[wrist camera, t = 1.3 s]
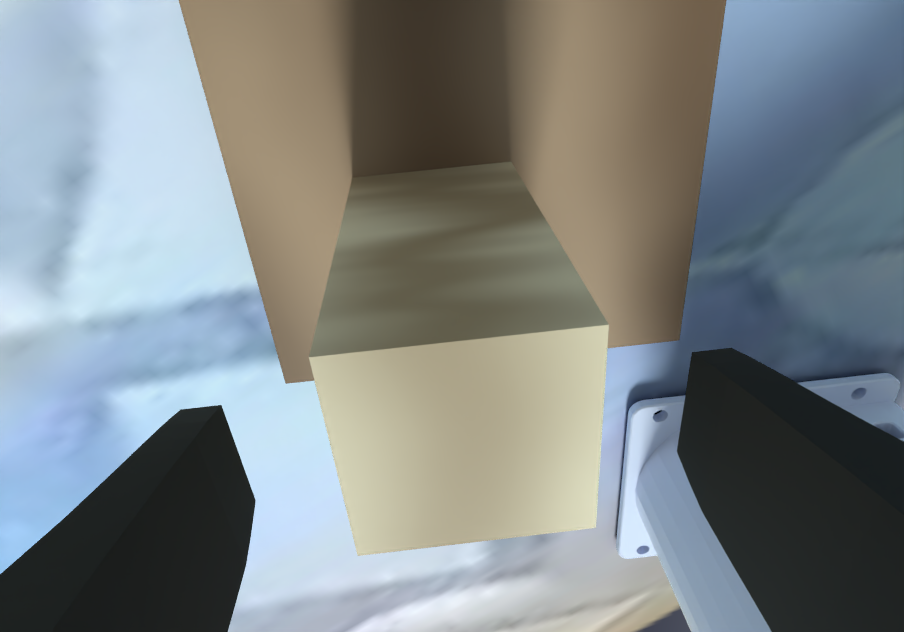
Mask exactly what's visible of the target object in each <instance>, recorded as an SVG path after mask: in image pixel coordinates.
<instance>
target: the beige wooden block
mask: <svg viewBox="0 0 904 632" xmlns="http://www.w3.org/2000/svg"><path fill="white" fill-rule="evenodd" d="M608 330H609V324H608V322H607V321H606V319H605V317H604V316H603V314H602V312H601V311H600V309H599V307H598V306H597V304H596V302H595V301H594V299H593V297H592V296H591V294H590V292H589V291H588V289H587V287H586V286H585V284H584V282H583V281H582V279H581V277H580V276H579V274H578V272H577V271H576V269H575V267H574V266H573V264H572V262H571V261H570V259H569V257H568V256H567V254H566V252H565V251H564V249H563V247H562V246H561V244H560V242H559V241H558V239H557V237H556V236H555V234H554V232H553V231H552V229H551V227H550V226H549V224H548V222H547V221H546V219H545V217H544V216H543V214H542V212H541V211H540V209H539V207H538V206H537V204H536V202H535V201H534V199H533V197H532V196H531V194H530V192H529V191H528V189H527V187H526V186H525V184H524V182H523V181H522V179H521V177H520V176H519V174H518V172H517V171H516V169H515V167H514V166H513V164H512V162H502V163H493V164H483V165H473V166H463V167H453V168H443V169H433V170H424V171H414V172H404V173H394V174H384V175H374V176H365V177H355V178H352V181H351V185H350V189H349V193H348V198H347V202H346V206H345V210H344V214H343V218H342V222H341V226H340V231H339V235H338V239H337V243H336V247H335V251H334V255H333V259H332V264H331V268H330V272H329V276H328V280H327V284H326V288H325V293H324V297H323V301H322V305H321V309H320V313H319V317H318V321H317V326H316V330H315V334H314V338H313V342H312V346H311V350H310V354H309V360H310V364H311V368H312V373H313V377H314V381H315V385H316V389H317V393H318V397H319V401H320V405H321V409H322V413H323V417H324V421H325V425H326V429H327V433H328V437H329V441H330V445H331V449H332V453H333V457H334V461H335V466H336V470H337V474H338V478H339V482H340V486H341V490H342V494H343V498H344V502H345V506H346V510H347V514H348V518H349V522H350V526H351V530H352V534H353V538H354V542H355V546H356V550H357V554H358V556H361V555H369V554H378V553H386V552H395V551H403V550H412V549H420V548H429V547H437V546H446V545H454V544H463V543H471V542H480V541H488V540H497V539H505V538H514V537H522V536H530V535H539V534H547V533H556V532H564V531H573V530H581V529H590V528H596V515H597V500H598V485H599V469H600V454H601V438H602V423H603V407H604V392H605V377H606V361H607V346H608Z"/></svg>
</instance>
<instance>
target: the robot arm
mask: <svg viewBox="0 0 904 632" xmlns="http://www.w3.org/2000/svg"><path fill="white" fill-rule="evenodd" d="M899 389H900V382H899V380H898V379H897V378H895V377H894V376H893V375H891V374H889V373H879V374H871V375H862V376H853V377H844V378H835V379H826V380H817V381H808V382H799V383H796V382H794V381H793V380H791V379H789V378H787V377H785V376H784V375H782V374H780V373H778V372H776V371H775V370H773V369H771V368H769V367H767V366H766V365H764V364H762V363H760V362H758V361H756V360H754V359H753V358H751V357H749V356H747V355H745V354H743V353H741V352H739V351H737V350H734V349H732V348H726V349H717V350H709V351H700V352H692V356H691V363H690V369H689V375H688V382H687V388H686V395H684V396H675V397H666V398H657V399H648V400H642V401H638V402H636V403H635V404H633V405H632V406H631V408H630V409H629V412H628V421H627V432H626V442H625V453H624V464H623V475H622V486H621V496H620V507H619V518H618V529H617V539H616V548H617V551H618V554H619V555H620V556H621V557H623V558H626V559H631V558H639V557H648V556H656V555H657V556H658V558H659V560H660V562H661V565H662V567H663V569H664V571H665V574H666V576H667V578H668V580H669V583H670V585H671V587H672V589H673V592H674V594H675V596H676V598H677V601H678V603H679V605H680V607H681V610H682V612H683V614H684V616H685V618H686V621H687V623H688V625H689V628H690V630H691V632H904V410H903V409H902V408H901V407H900V406H899V405H897V404H896V403H895V400H896V397H897V394H898V392H899ZM854 390H855V391H854ZM660 410H662V412H660V413H659V414H656V415H654V413H656V412H657V411H660ZM254 508H255V498H254V495H253V492H252V490H251V487H250V484H249V481H248V478H247V476H246V473H245V470H244V467H243V465H242V462H241V459H240V456H239V453H238V451H237V448H236V445H235V442H234V439H233V437H232V434H231V431H230V428H229V425H228V423H227V420H226V417H225V414H224V412H223V409H222V406H221V405H218V406H209V407H200V408H191V409H183V410H180V411H179V412H177V413H176V414H175V415H174V416H173V417H172V418H170V419H169V420H168V421H167V422H166V423H165V424H164V425H163V426H162V427H160V428H159V429H158V430H157V431H156V432H155V433H154V434H153V435H152V436H151V437H150V438H149V439H148V440H147V441H146V442H144V443H143V444H142V445H141V446H140V447H139V448H138V449H137V450H136V451H135V452H134V453H133V454H132V455H131V456H130V457H129V458H128V459H127V460H126V461H125V462H124V463H122V464H121V465H120V466H119V467H118V468H117V469H116V470H115V471H114V472H113V473H112V474H111V475H110V476H109V477H108V478H107V479H106V480H105V481H103V482H102V483H101V484H100V485H99V486H98V487H97V488H96V489H95V490H94V491H93V492H92V493H91V494H90V495H89V496H88V497H86V498H85V499H84V500H83V501H82V502H81V503H80V504H79V505H78V506H77V507H76V508H75V509H74V510H73V511H72V512H70V513H69V514H68V515H67V516H66V517H65V518H64V519H63V520H62V521H61V522H60V523H58V524H57V525H56V526H55V527H54V528H53V529H52V530H50V531H49V532H48V533H47V534H46V535H45V536H44V537H42V538H41V539H40V540H39V541H38V542H37V543H36V544H34V545H33V546H32V547H31V548H30V549H29V550H28V551H26V552H25V553H24V554H23V555H22V556H21V557H20V558H18V559H17V560H16V561H15V562H14V563H13V564H12V565H11V566H9V567H8V568H7V569H6V570H5V571H4V572H3V573H1V574H0V632H228V628H229V625H230V621H231V618H232V614H233V610H234V607H235V603H236V600H237V596H238V592H239V589H240V585H241V581H242V578H243V574H244V570H245V566H246V561H247V555H248V549H249V543H250V537H251V530H252V523H253V515H254Z"/></svg>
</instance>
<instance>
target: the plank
mask: <svg viewBox="0 0 904 632" xmlns="http://www.w3.org/2000/svg"><path fill="white" fill-rule="evenodd" d="M179 3H180V6H181V10H182V14H183V17H184V21H185V24H186V28H187V32H188V35H189V39H190V42H191V46H192V49H193V53H194V57H195V60H196V64H197V67H198V71H199V75H200V78H201V82H202V85H203V89H204V92H205V96H206V100H207V103H208V107H209V110H210V114H211V118H212V121H213V125H214V128H215V132H216V135H217V139H218V143H219V146H220V150H221V153H222V157H223V161H224V164H225V168H226V171H227V175H228V178H229V182H230V186H231V189H232V193H233V196H234V200H235V204H236V207H237V211H238V214H239V218H240V221H241V225H242V229H243V232H244V236H245V239H246V243H247V247H248V250H249V254H250V257H251V261H252V264H253V268H254V272H255V275H256V279H257V282H258V286H259V290H260V293H261V297H262V300H263V304H264V307H265V311H266V315H267V318H268V322H269V325H270V329H271V333H272V336H273V340H274V343H275V347H276V350H277V354H278V358H279V361H280V365H281V368H282V372H283V376H284V379H285V383H295V382H305V381H314V377H313V373H312V368H311V364H310V360H309V354H310V350H311V346H312V342H313V338H314V334H315V330H316V326H317V321H318V317H319V313H320V309H321V305H322V301H323V297H324V293H325V288H326V284H327V280H328V276H329V272H330V268H331V264H332V259H333V255H334V251H335V247H336V243H337V239H338V235H339V231H340V226H341V222H342V218H343V214H344V210H345V206H346V202H347V198H348V193H349V189H350V185H351V181H352V178H355V177H365V176H374V175H384V174H394V173H404V172H414V171H424V170H433V169H443V168H453V167H463V166H473V165H483V164H493V163H502V162H512V164H513V166H514V167H515V169H516V171H517V172H518V174H519V176H520V177H521V179H522V181H523V182H524V184H525V186H526V187H527V189H528V191H529V192H530V194H531V196H532V197H533V199H534V201H535V202H536V204H537V206H538V207H539V209H540V211H541V212H542V214H543V216H544V217H545V219H546V221H547V222H548V224H549V226H550V227H551V229H552V231H553V232H554V234H555V236H556V237H557V239H558V241H559V242H560V244H561V246H562V247H563V249H564V251H565V252H566V254H567V256H568V257H569V259H570V261H571V262H572V264H573V266H574V267H575V269H576V271H577V272H578V274H579V276H580V277H581V279H582V281H583V282H584V284H585V286H586V287H587V289H588V291H589V292H590V294H591V296H592V297H593V299H594V301H595V302H596V304H597V306H598V307H599V309H600V311H601V312H602V314H603V316H604V317H605V319H606V321H607V322H608V324H609V330H608V346H607V348H613V347H623V346H632V345H641V344H650V343H659V342H668V341H677V340H679V338H680V331H681V324H682V317H683V309H684V302H685V295H686V288H687V281H688V273H689V266H690V259H691V252H692V244H693V237H694V230H695V223H696V215H697V208H698V201H699V194H700V187H701V179H702V172H703V165H704V158H705V150H706V143H707V136H708V129H709V122H710V114H711V107H712V100H713V93H714V85H715V78H716V71H717V64H718V56H719V49H720V42H721V35H722V28H723V20H724V13H725V6H726V0H179Z"/></svg>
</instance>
